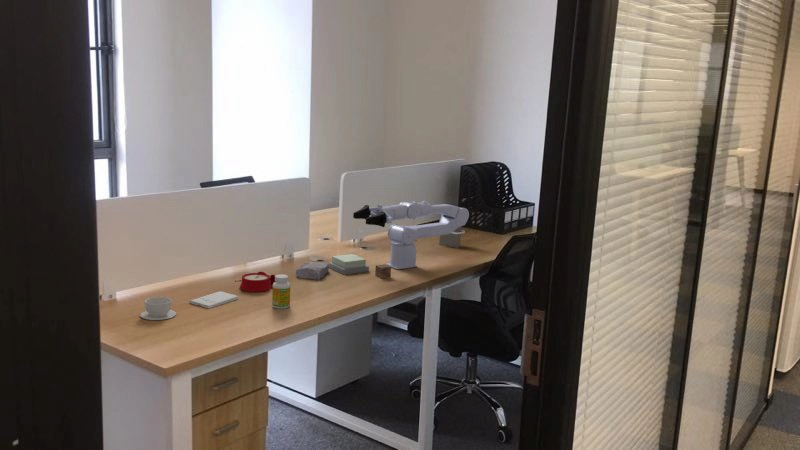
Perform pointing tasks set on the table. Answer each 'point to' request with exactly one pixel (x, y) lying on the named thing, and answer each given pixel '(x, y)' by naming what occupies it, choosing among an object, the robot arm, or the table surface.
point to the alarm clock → (257, 282)
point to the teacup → (158, 308)
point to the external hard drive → (214, 299)
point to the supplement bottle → (281, 292)
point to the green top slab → (348, 261)
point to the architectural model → (452, 238)
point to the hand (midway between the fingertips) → (359, 218)
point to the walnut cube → (383, 271)
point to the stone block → (312, 270)
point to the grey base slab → (348, 269)
